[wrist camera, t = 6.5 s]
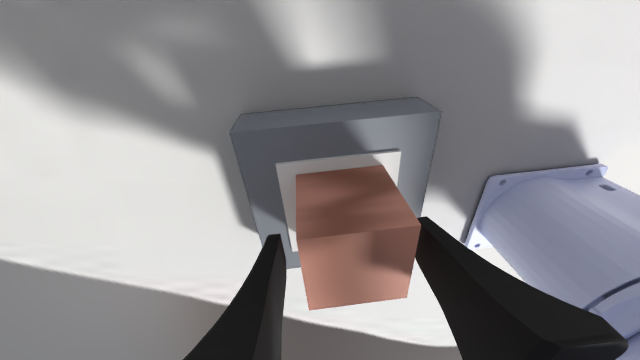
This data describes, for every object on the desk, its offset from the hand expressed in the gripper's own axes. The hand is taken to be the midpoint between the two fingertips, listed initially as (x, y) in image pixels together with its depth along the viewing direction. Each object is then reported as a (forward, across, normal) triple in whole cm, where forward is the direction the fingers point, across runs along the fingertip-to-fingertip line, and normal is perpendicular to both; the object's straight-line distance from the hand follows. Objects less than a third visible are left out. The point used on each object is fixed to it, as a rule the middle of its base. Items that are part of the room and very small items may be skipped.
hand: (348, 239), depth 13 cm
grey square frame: (+6, 0, 0) cm, 6 cm away
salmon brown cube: (+3, 0, 0) cm, 3 cm away
